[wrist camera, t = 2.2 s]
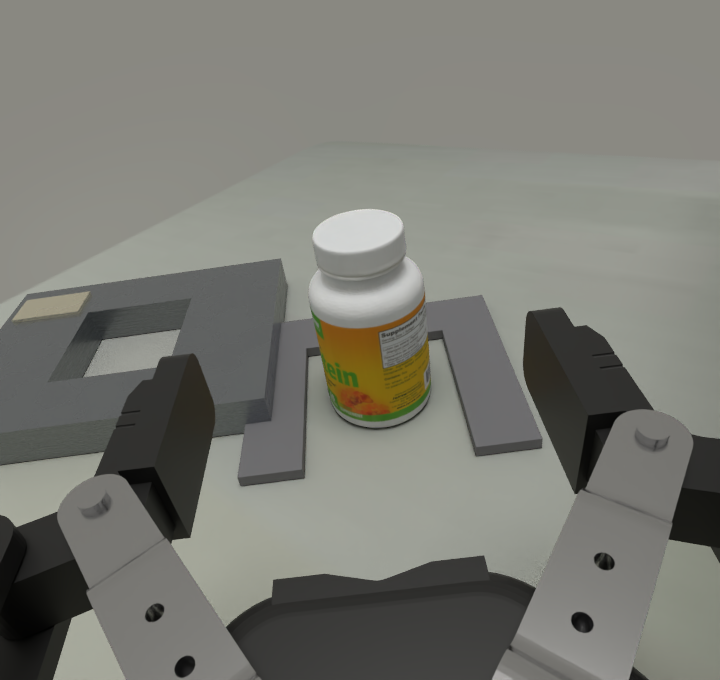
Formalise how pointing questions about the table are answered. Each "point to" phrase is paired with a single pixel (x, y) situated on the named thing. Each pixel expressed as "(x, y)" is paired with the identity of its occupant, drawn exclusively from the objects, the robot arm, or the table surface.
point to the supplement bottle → (370, 318)
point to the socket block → (109, 392)
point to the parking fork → (471, 374)
